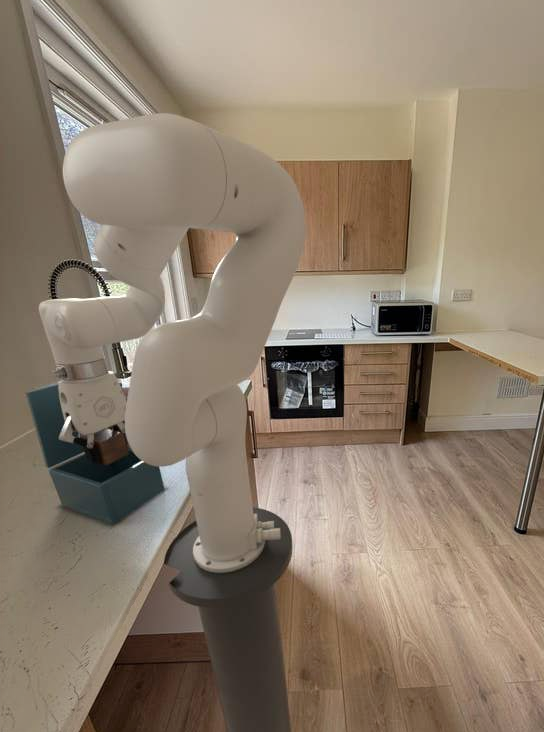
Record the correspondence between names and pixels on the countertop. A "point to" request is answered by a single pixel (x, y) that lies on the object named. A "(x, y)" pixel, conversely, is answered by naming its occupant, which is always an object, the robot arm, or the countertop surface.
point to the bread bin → (106, 486)
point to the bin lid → (51, 424)
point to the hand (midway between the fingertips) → (109, 455)
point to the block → (110, 445)
